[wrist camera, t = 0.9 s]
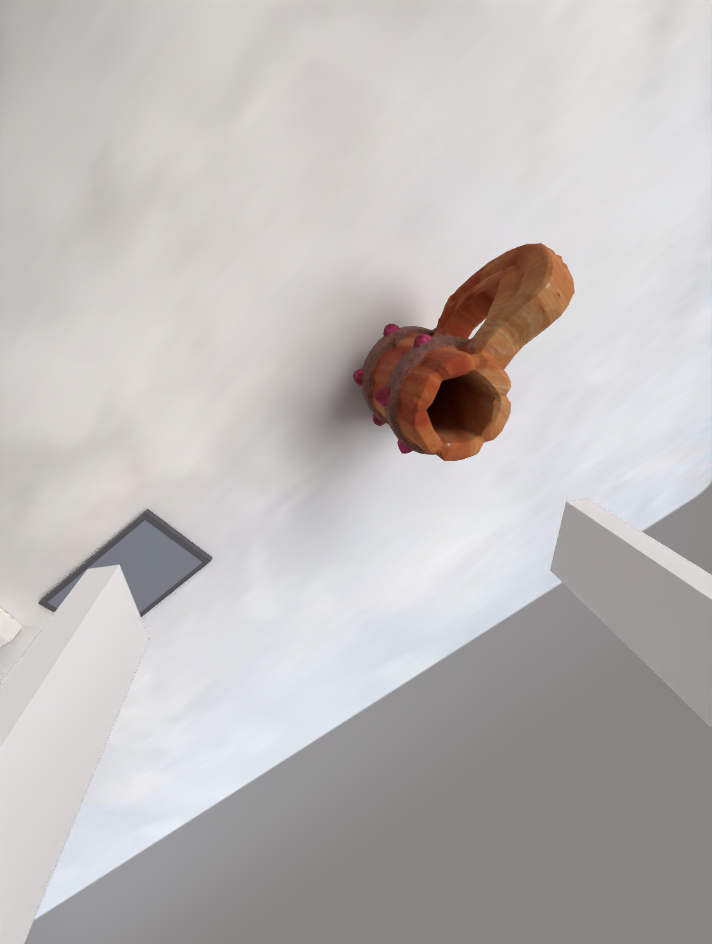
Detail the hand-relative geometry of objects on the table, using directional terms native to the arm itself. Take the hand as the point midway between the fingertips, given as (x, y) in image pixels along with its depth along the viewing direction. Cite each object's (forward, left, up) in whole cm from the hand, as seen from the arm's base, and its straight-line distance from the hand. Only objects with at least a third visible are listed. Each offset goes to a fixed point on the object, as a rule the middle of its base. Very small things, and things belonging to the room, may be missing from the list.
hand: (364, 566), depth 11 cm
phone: (+9, -25, -25) cm, 36 cm away
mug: (0, +10, -25) cm, 27 cm away
